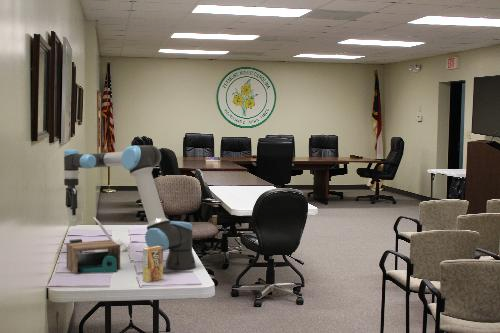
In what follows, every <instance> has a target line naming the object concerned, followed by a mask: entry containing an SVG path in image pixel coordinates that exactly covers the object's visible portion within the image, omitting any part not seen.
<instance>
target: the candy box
mask: <svg viewBox="0 0 500 333" xmlns="http://www.w3.org/2000/svg"><path fill="white" fill-rule="evenodd" d="M142 249H143V250H142V282H145V283H150V282H155V281H159V280H163V275H164V274H163V272H164V271H163V270H164V268H163V267H164V251H163V247H161V246H154V247H148V246H147V247H143V248H142Z"/></svg>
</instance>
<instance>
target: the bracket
mask: <svg viewBox="0 0 500 333" xmlns="http://www.w3.org/2000/svg"><path fill="white" fill-rule="evenodd" d="M108 261H111V262H112V263H108ZM117 272H118V269H117V258H116V256H115V255H113V254H108V255H106V256H105V257H104V259H103V262H102V265H94V266H80V267H78V273H80V274H81V273H82V274H87V273H88V274H89V273H90V274H92V273H93V274H94V273H95V274H97V273H99V274H100V273H103V274H104V273H105V274H106V273H117Z"/></svg>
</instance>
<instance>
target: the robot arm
mask: <svg viewBox="0 0 500 333" xmlns="http://www.w3.org/2000/svg"><path fill="white" fill-rule="evenodd" d="M161 160H162V154H161V150H160V149H158V147H157V146H155V145H151V144H149V145H148V144H146V145H145V144H144V145H130V146H127V147H126V148H125V149H124V150H123V151H115V152H114V151H113V152H101V153H100V152H99V153H79V150H78V149H65V150H64V151H63V168H64V169H63V177H64V178H63V183H64V184H63V185H64V186H66V188H65V206H66V220H70V222H77V209H78V190H77V188H76V187H77V186H79V174H80V171H79V168H81V169H88V170H89V169H93V168H94V169H95V168H107V167H123V168H125V169H126V170H128V171H129V174H130V176H132V177H134V180H135V183H136V187H137V190H138V193H139V197H140V199H141V202H142V203H141V204H142V207H143V209H144V212H145V216H146V219H147V223H148V224H147V225H146V230H147V231H146V232H145V235H144V241H145V244H146V245H147V248H148V247H154V246H161V247H163V252H165V251H168V253H167V257H166V261H165V269H169V270H174V271H176V270H177V271H178V270H179V271H183V270H184V271H185V270H186V271H187V270H192V269H194V268H196V260H195V256H194V253H193V231H194V230H193V224H192V223H191V222H187V221H178V220H170V219H168V218H167V217H166V214H165V212H164V209H163V206H162V202H161V200H160V196H159V193H158V189H157V185H156V183H155V179H154V177H153V173H152V172H153V169H154V168H155V167H157V166H158V165H159V164H160V163H161Z"/></svg>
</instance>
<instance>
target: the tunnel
mask: <svg viewBox="0 0 500 333" xmlns="http://www.w3.org/2000/svg"><path fill="white" fill-rule="evenodd" d="M113 241H114V240H113ZM113 241H111V240H109V239H103V240H93V241H82V242H78V243H69V242H68V243H66V269H68V270H69V271H70V272H72V273H73V274H75V275H78V273H79V267H78V251H83V252H87V251H94V250H100V249H108V251H109V254H113V255H115V256H116V258H117V271H119V270H121V252H120V246H121V245H119V244H117V243H115V242H116V241H114V242H113ZM109 263H112V262H111V261H109Z"/></svg>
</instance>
